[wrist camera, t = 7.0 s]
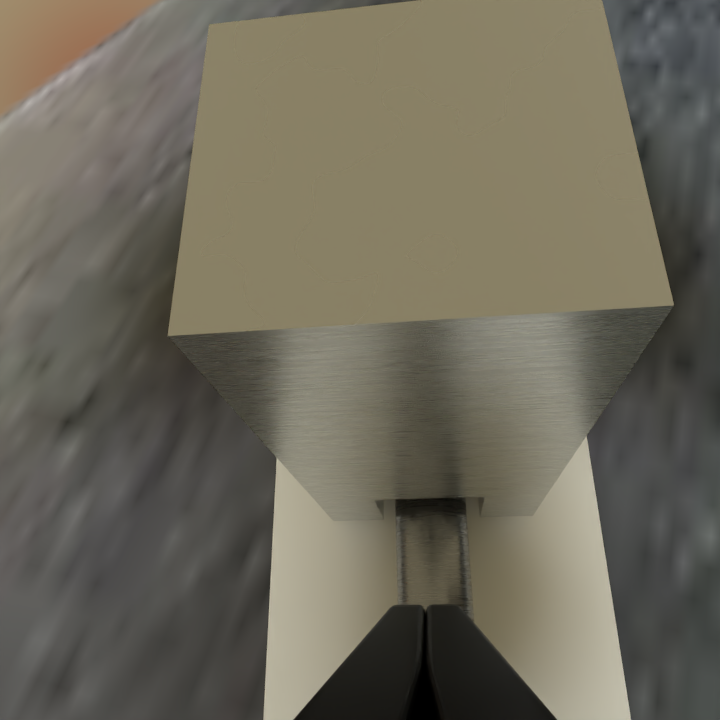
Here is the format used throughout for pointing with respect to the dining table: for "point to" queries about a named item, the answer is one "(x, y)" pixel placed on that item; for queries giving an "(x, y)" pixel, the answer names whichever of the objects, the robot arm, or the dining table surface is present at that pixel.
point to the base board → (489, 590)
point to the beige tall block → (418, 245)
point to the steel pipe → (433, 553)
